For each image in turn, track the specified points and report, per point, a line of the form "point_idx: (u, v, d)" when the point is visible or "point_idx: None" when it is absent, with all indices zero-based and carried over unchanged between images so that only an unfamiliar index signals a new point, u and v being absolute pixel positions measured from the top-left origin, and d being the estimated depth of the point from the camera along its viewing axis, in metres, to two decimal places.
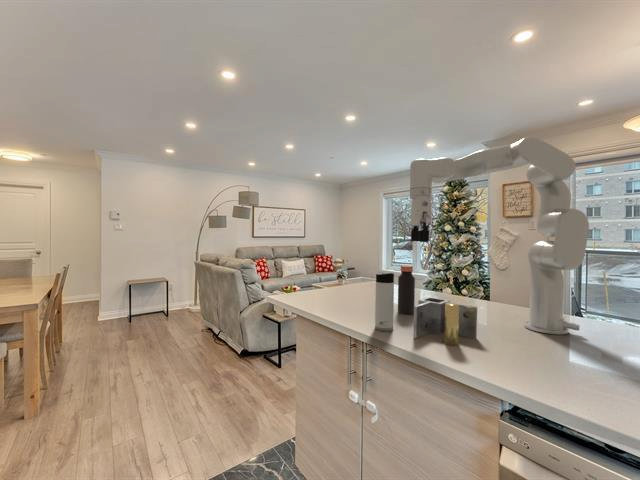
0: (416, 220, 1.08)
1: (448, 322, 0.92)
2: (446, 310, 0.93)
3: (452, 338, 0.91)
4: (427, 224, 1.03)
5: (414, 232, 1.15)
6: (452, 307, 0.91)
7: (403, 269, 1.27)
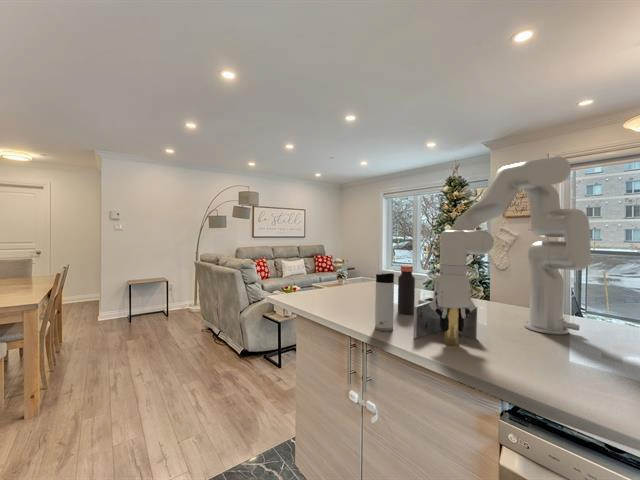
0: (463, 303, 0.91)
1: (448, 322, 0.92)
2: None
3: (452, 338, 0.91)
4: None
5: None
6: None
7: (403, 269, 1.27)
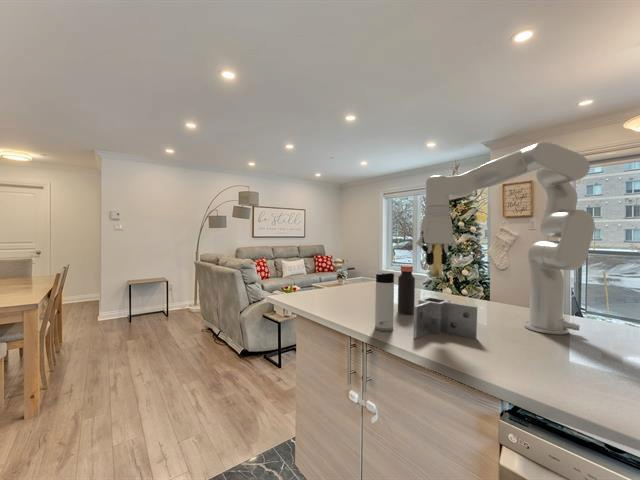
0: (446, 239, 1.04)
1: (433, 256, 1.05)
2: None
3: (436, 270, 1.04)
4: None
5: None
6: None
7: (403, 269, 1.27)
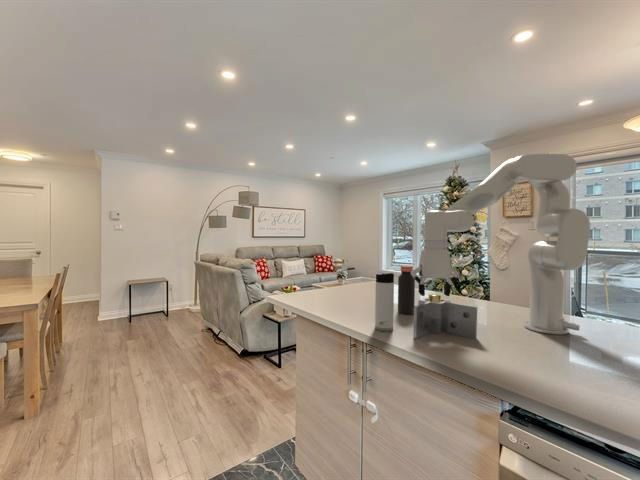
0: (444, 274, 1.05)
1: None
2: (429, 300, 1.07)
3: None
4: None
5: None
6: (434, 297, 1.05)
7: (403, 269, 1.27)
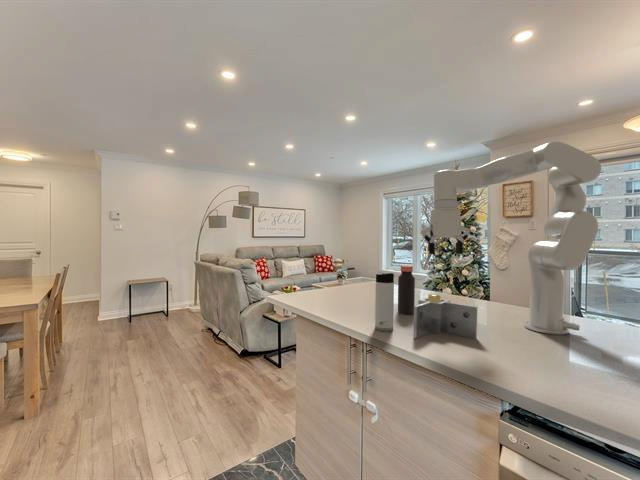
0: (455, 232, 1.06)
1: None
2: (429, 300, 1.07)
3: None
4: None
5: None
6: (434, 297, 1.05)
7: (403, 269, 1.27)
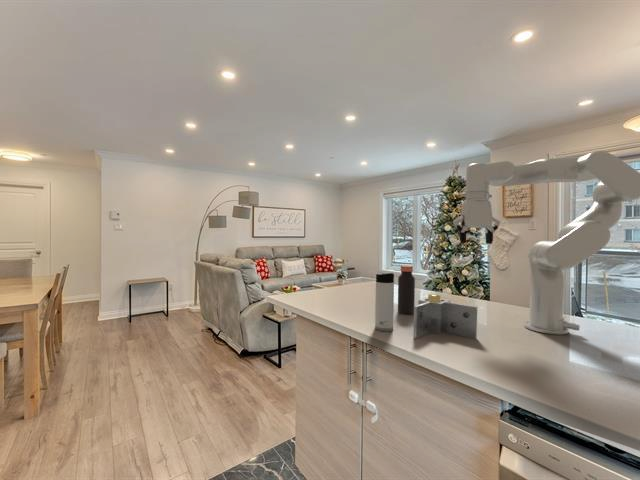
0: (486, 223, 1.11)
1: None
2: (429, 300, 1.07)
3: None
4: None
5: None
6: (434, 297, 1.05)
7: (403, 269, 1.27)
